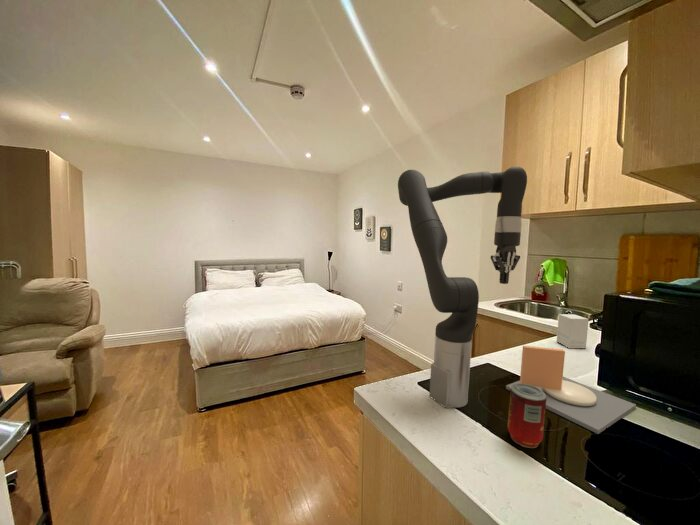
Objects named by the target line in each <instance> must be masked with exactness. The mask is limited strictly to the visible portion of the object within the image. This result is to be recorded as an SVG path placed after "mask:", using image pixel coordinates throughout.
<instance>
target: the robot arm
mask: <svg viewBox="0 0 700 525" xmlns="http://www.w3.org/2000/svg"><path fill="white" fill-rule="evenodd" d="M426 181H427V180H426V178H425V176H424V175H423V173H421V172H420V171H418V170H416V169H407V170H405V171H403V172H402V173H401V175H399V177H398V181H397V190H398V197H399V198H398V199H399V200H400V203H401V204H402V205H404V206H406V207H407V209H408V216H409V217H408V218H409V223H410V228H411V231H412V232H411V234H412V237H413V239H414V243H415V244H416V247H417V250H418V252H419V256H420V259H421V262H422V266H423V268H424V273H425V278H426V282H427V287H428V292H429V295H430V300H431V303H432V304H433V307H434V308H435V310H437V311H438V312H440V313H442V314H443V313H444V314H450V315H449V316H448V317H447V318H446V319H444V320H442V321H440V322H438V323H437V324H436V326H435V335H434V354H433V363H431V364H430V377H429V378H430V379H429V393H428V394H429V396H430V397H429V398H431V397H432V398H433V399H432V398H431V399H432V400H434V399H435V400H436V401H435V400H434V401H435V402H437V401H438V402H439V403H438V402H437V403H438V404H440V405H441V404H442V405H441V406H443V407H444V406H445V407H448V408H462V407H463V408H464V407H465V406H466V405H468V401H469V386H470V373H471V357H472V356H471V354H472V342H473V335H474V334H473V333H474V332H475V330H476V325H477V318H478V312H479V311H478V309H479V300H480V294H479V289H478V288H479V287H478V285H477V284H476V282H475V280H474V279H472V278H470V277H465V276H463V277H459V276H458V277H457V276H456V277H455V276H454V277H453V276H452V277H451V276H450V277H448V276H447V275H446V272H445V270H444V267H443V257H444V254H445V250H446V249H447V245H448V235H447V232H446V230H445V229H446V228H444V225H443V223H442V220H441V218H440V216H439V214H438V211H437V209H436V207H435V206H434V202H438V201H443V200H446V199H450V198H455V197H461V196H469V195H470V196H471V195H482V194H490V193H491V194H501V195H500V199H499V201H498V202H497V209H496V210H497V211H496V220H495V227H494V228H495V229H494V239H493V244H494V246H496V249H495V254H494V255H490V260H491V262H492V265H493V267H494V269H495V271H498V273H499V284H500V285H501V284H502V285H503V284H504V285H507V284H509V279H510V273H511V272H512V271H514V270H515V269H516V267H517V264H518V263H519V261H520V259H521V256H520V255H517V248H516V247H519V246H520V245H521V238H522V236H521V235H522V211H523V200H524V198H525V193H526V188H527V184H528V175H527V171H526V170H525V169H524V168H523V167H521V166H518V165H517V166H511V167H509V168H507V169H506V170H504V171H500V172H490V171H478V172H468V173H463V174H460V175H458V176H455V177H453V178H451V179H449V180H448V181H446V182H445V183H442V184H439V185H436V186H433V187H428V186H427V183H426ZM445 407H444V408H445Z"/></svg>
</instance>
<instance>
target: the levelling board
mask: <svg viewBox="0 0 700 525" xmlns="http://www.w3.org/2000/svg"><path fill="white" fill-rule="evenodd" d="M562 380H565V381H569V382H573V383H576V384H579V385H581V386H583V387H585V388H587V389H589V390H590V391H592V392H593V393H594V394H595V395H596V404H595V405H592V406H578V405H573V404H569V403H566V402H563V401H560V400H558V399H555V398H553V397H552V396H550V395H548V394H547V393H546V392H545V391H544V390H543V389H542V387H537V388H539V389H540V390H541V391H542V392H544V393H545V395H546V398H547V399H546V409H545V410H548V411H549V412H552V413H554V414H556V415H558V416H560V417H562V418H564V419H566V420H568V421H571V422H573V424H576V425H579V426H580V427H583V428H585V429H586V430H589V431H591V432H593V433H594V434H596V435H599V434H601V433H602V432H604V431H605V430H606V428H607V429H608V428H609V427H611V426H612V425H614V424H615V423H617V422H618V421H619V420H621V419H623V418H624V417H625V416H627V415H628V414H630V413H631V412H633V411H634V410H636V408H637V404H636V403H632V402H630V401H627V400H625V399H622V398H620V397H617V396H615V395H612V394H610V393H607V392H604V391H602V390H599V389H597V388H594V387H592V386H588V385H586V384H583V383H581V382H578V381H576V380H573V379H570V378H567V377H565V376H563V378H562ZM514 384H521V383H520V379H519V380H516V381H514V382H512V383H509V384H506V385H505V390H507V391H510V389H511V386H512V385H514Z"/></svg>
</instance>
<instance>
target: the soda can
mask: <svg viewBox="0 0 700 525" xmlns="http://www.w3.org/2000/svg"><path fill="white" fill-rule="evenodd" d="M546 399H547V398H546V395H545V393H544V392H542V391H541V390H540V389H539V388H537V387H535V386H533V385H529V384H524V383H521V384H514V385H512V386H511V389H510V392H509V404H508V413H507V414H508V415H507V417H508V418H507V431H508V433H509V434H510V435H509V436H510V439H511V440H512V441H513V442H514V443H516V444H518V445H520V446H521V447H524V448H529V449H536V448H537V447H538V446H539V445H540V443H541V442H542V441H543V439H544V430H545V429H544V428H545V417H546V410H547V409H546Z"/></svg>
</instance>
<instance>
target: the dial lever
mask: <svg viewBox="0 0 700 525" xmlns="http://www.w3.org/2000/svg"><path fill="white" fill-rule="evenodd" d="M565 359H566V351H565V350H564V349H561V348H551V347H541V346H531V345H522V354H521V366H520V376H519V380H520V383H524V384H529V385H533V386H535V387H542V389H543V390H544V391H545V392H546V393H547V394H548V395H550V396H552V397H553V398H555V399H558V400H560V401H563V402H566V403H569V404H573V405H578V406H592V405H595V404H596V395H595V394H594V393H593V392H592V391H590V390H589V389H587V388H585V387H583V386H581V385H579V384H576V383H573V382H569V381H565V380H562V378H563V377H564V376H563V375H564V365H565Z"/></svg>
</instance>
